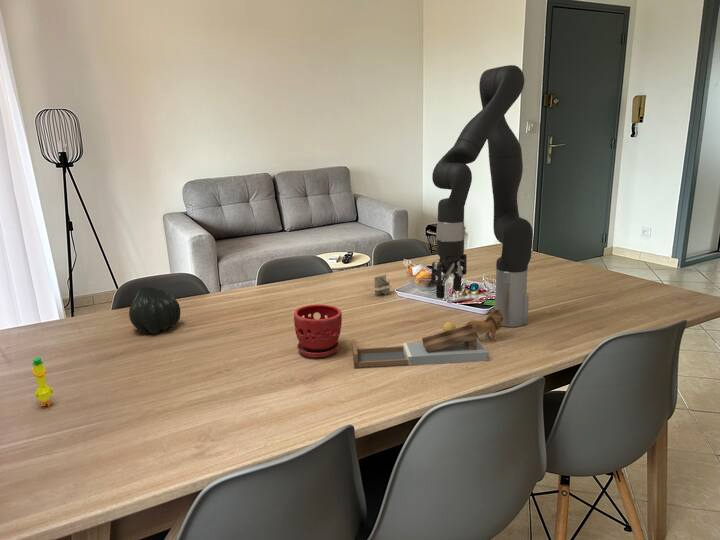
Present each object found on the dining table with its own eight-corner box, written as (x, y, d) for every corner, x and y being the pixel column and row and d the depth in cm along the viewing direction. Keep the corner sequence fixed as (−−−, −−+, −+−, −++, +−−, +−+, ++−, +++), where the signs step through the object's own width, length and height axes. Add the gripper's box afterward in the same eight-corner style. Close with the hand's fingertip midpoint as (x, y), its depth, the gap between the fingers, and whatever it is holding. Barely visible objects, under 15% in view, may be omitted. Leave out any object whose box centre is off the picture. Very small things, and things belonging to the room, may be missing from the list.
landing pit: (403, 351, 150) (402, 338, 149) (408, 365, 142) (407, 351, 141) (352, 354, 149) (351, 340, 148) (354, 368, 141) (353, 354, 140)
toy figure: (35, 401, 129) (25, 355, 126) (52, 396, 131) (43, 350, 128) (39, 412, 124) (29, 364, 121) (57, 407, 126) (47, 359, 123)
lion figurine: (495, 333, 161) (496, 304, 158) (507, 339, 156) (508, 310, 154) (454, 343, 155) (454, 313, 152) (465, 350, 150) (466, 319, 148)
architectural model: (392, 295, 201) (392, 276, 199) (378, 299, 197) (377, 279, 195) (386, 293, 203) (386, 274, 201) (372, 297, 199) (371, 277, 197)
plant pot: (306, 365, 144) (304, 322, 141) (289, 348, 155) (286, 308, 152) (351, 354, 150) (349, 313, 146) (331, 339, 161) (329, 300, 158)
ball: (454, 331, 157) (454, 319, 156) (457, 336, 153) (457, 324, 152) (441, 332, 156) (441, 320, 155) (444, 336, 153) (444, 324, 152)
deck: (477, 347, 152) (477, 339, 151) (487, 360, 143) (487, 352, 142) (403, 351, 150) (402, 343, 150) (408, 365, 142) (407, 356, 141)
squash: (192, 313, 171) (170, 274, 174) (146, 328, 160) (124, 286, 164) (179, 333, 180) (159, 295, 184) (136, 348, 170) (115, 308, 174)
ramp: (472, 341, 149) (473, 323, 148) (478, 350, 144) (478, 331, 142) (421, 344, 148) (421, 326, 147) (425, 353, 143) (425, 334, 142)
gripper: (452, 231, 155) (451, 286, 159) (423, 240, 145) (423, 297, 149) (475, 234, 150) (473, 290, 155) (447, 243, 140) (446, 303, 144)
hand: (448, 294), depth 152 cm, fingers open, 8 cm apart
